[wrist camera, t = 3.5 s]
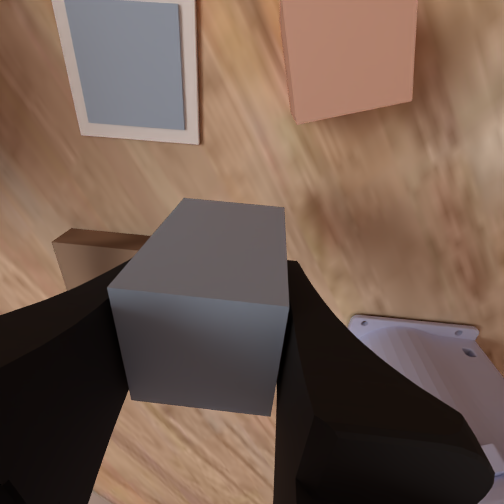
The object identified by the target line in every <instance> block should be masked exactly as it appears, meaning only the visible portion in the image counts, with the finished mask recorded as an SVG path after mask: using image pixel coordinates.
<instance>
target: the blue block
mask: <svg viewBox="0 0 504 504" xmlns="http://www.w3.org/2000/svg"><path fill="white" fill-rule="evenodd" d="M107 290H108V295H109V299H110V304H111V308H112V313H113V318H114V322H115V327H116V331H117V336H118V341H119V345H120V350H121V354H122V359H123V364H124V368H125V373H126V377H127V382H128V386H129V391H130V396H131V400H136V401H144V402H152V403H161V404H169V405H178V406H186V407H194V408H203V409H211V410H220V411H228V412H236V413H245V414H253V415H262V416H271V410H272V405H273V399H274V393H275V387H276V381H277V376H278V370H279V364H280V358H281V352H282V346H283V341H284V335H285V329H286V323H287V317H288V312H289V290H288V271H287V251H286V231H285V212H284V207H275V206H264V205H254V204H243V203H233V202H222V201H211V200H201V199H190V198H183V200H182V201H181V202H180V203H179V204H178V205H177V207H176V208H175V209H174V210H173V211H172V212H171V214H170V215H169V216H168V217H167V218H166V219H165V221H164V222H163V223H162V224H161V225H160V226H159V228H158V229H157V230H156V231H155V232H154V233H153V235H152V236H151V237H150V238H149V239H148V240H147V241H146V243H145V244H144V245H143V246H142V247H141V248H140V250H139V251H138V252H137V253H136V254H135V255H134V257H133V258H132V259H131V260H130V261H129V262H128V264H127V265H126V266H125V267H124V268H123V269H122V271H121V272H120V273H119V274H118V275H117V276H116V278H115V279H114V280H113V281H112V282H111V283H110V285H109V286H108V287H107Z"/></svg>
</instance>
